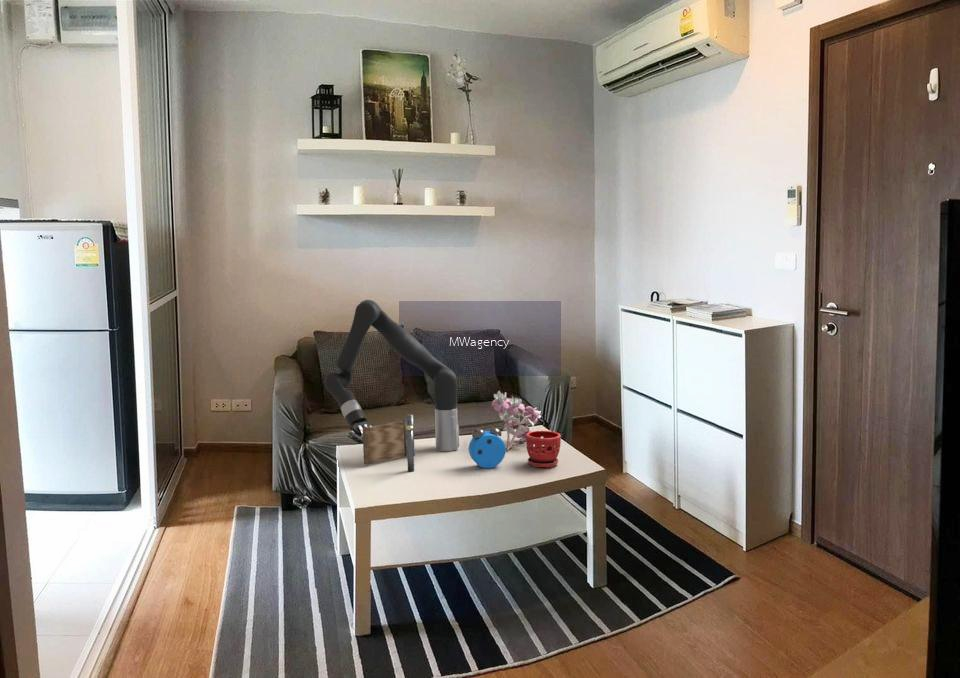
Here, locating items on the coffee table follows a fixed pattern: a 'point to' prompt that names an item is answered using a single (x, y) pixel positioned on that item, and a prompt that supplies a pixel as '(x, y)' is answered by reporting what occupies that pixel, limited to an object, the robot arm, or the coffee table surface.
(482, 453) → the alarm clock
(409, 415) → the hinge post
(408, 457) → the post
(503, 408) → the flower
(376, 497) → the coffee table surface
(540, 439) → the plant pot
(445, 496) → the coffee table surface
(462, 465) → the coffee table surface
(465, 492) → the coffee table surface
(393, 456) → the gate
